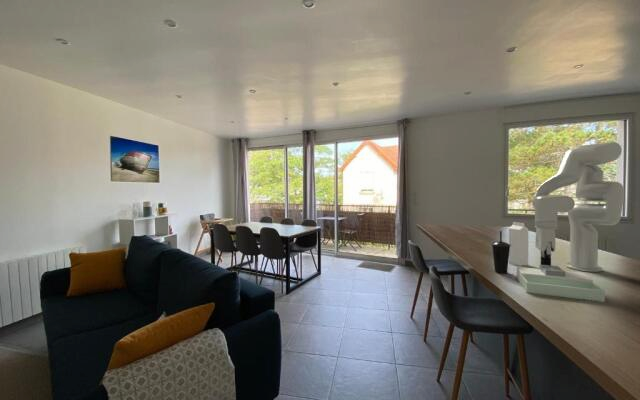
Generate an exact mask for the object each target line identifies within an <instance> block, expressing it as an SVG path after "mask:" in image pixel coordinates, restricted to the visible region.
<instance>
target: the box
mask: <svg viewBox="0 0 640 400" xmlns="http://www.w3.org/2000/svg"><path fill="white" fill-rule="evenodd" d="M520 285H521V286H522V288H523V290H524V291H525V292H526V294H535V295H541V296H542V295H543V296H552V297H560V298H569V299H576V300H583V299H585V300H586V301H591V300H592V301H593V302H601V303H605V302H606V299H605V298H606V291H605V290H604V289H603V288H601V287H600V286H599V285H597V284H596V283H594V282H593V283H592V282H582V281H571V280H561V279H551V278H541V277H530V276H521V284H520Z"/></svg>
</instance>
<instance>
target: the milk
mask: <svg viewBox="0 0 640 400" xmlns="http://www.w3.org/2000/svg"><path fill="white" fill-rule="evenodd" d="M508 244H510V245H511V246H510V251H509V260H508V264H511V265H515V266H517V267H524V266H528V265H529V228H528V227H526V225H525V223H524V222H517V221H513V222H512V225H510V226H509V228H508ZM523 265H524V266H523Z"/></svg>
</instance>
